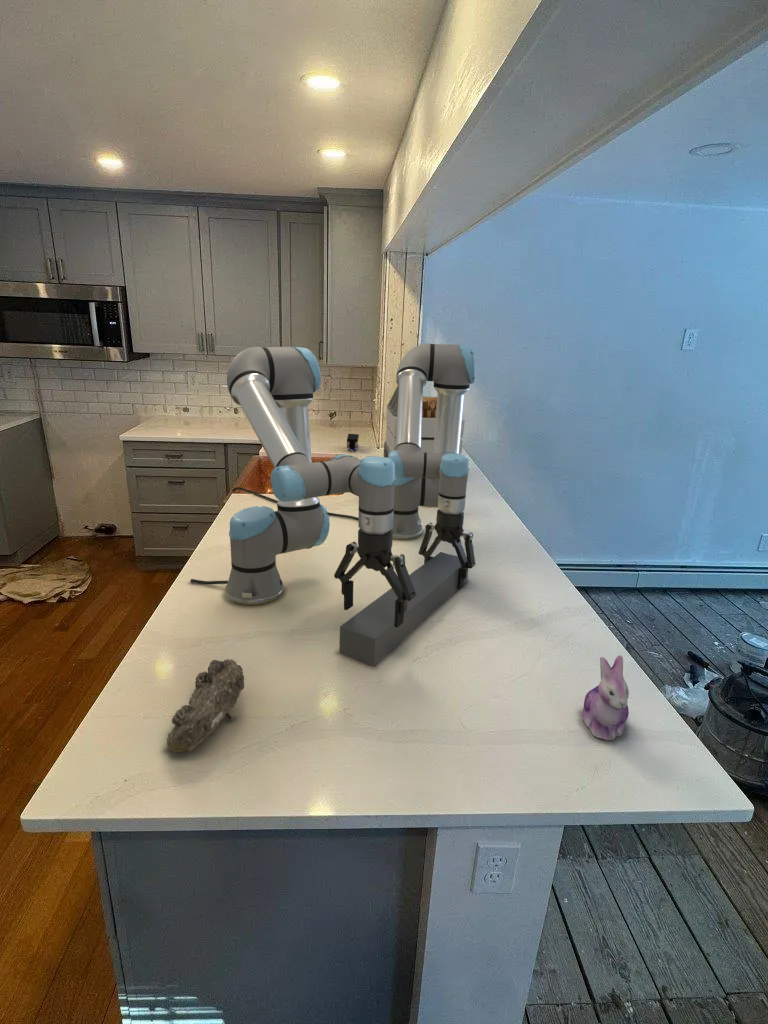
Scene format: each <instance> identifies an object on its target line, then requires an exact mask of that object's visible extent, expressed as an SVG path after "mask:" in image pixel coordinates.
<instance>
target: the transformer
mask: <svg viewBox="0 0 768 1024" xmlns="http://www.w3.org/2000/svg"><path fill="white" fill-rule="evenodd" d="M398 394H399V386H398V385H397V386H396V388H395V390H394V392H393V394H392V395H391V398H390V400H389V402H388V404H387V405H386V413H385V414H386V415H385V423H386V428H385V438H384V442H383V457H386V458H388V453H389V451H394V450H395V444H396V427H397V411H398ZM436 409H437V396H423V403H422V429H421V452H426V453H433V450H434V436H435V423H436ZM464 429H465V419H464V418H462V422H461V434H460V445H459V454H461V455H462V453H463V442H464V441H463V440H462V439H463V438H464V431H465V430H464Z"/></svg>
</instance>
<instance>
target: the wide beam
mask: <svg viewBox="0 0 768 1024" xmlns="http://www.w3.org/2000/svg"><path fill="white" fill-rule="evenodd" d="M432 557H433V558H432V559H430V560H429V561H428V562H426V563H425V564H424V563H423V564H422V565H420V566H419V567H418V568H417V569H415V570H413V572H411V573H410V574H409V576H410V579H411V581H412V584H413V587H414V589H415V592H416V597H414V598H413V599H412V600H411V601H408V604H407V611H406V612H405V613H404V618H403V623H402V624H401V625H400V626H399V627H398V628H397V627H394V622H395V600H397V599H398V597H397V596H396V594H395V592H394V591H393V589H392V587H390V589H388V590H387V591H386V592H384V593H383V594H382V595H380V596H379V597H378V598H376V599H375V600H373V601H372V602H371V603H369V604H368V605H367V606H366V607H364V608H363V609H361V610H360V611H359V612H357V613H356V614H355V615H353V616H352V617H350V619H348V620H346V621H345V622H343V624H341V625H340V626H339V652H338V653H339V654H342V655H344V656H346V657H349V658H351V659H354V660H356V661H358V662H361V663H363V664H365V665H369V666H371V667H376V665H377V664H378V663H380V662H381V661H382V660H383V659H384V658H385V657H386V656H387V655H388V654H389V653H391V652H392V651H393V650H394V649H395V648H396V647H397V646H398V645H399V644H401V642H403V641H404V640H405V639H406V638H407V637H408V636H409V635H410V634H411V633H413V632H414V631H415V630H416V628H418V627H419V626H421V624H423V622H425V621H426V620H427V619H428V618H429V617H430V616H431V615H432V614H433V613H434V612H435V611H437V609H438V608H440V607H441V606H442V605H443V604H444V603H445V602H446V601H447V600H449V599H450V597H452V596H453V595H454V594H455V593H456V592H457V591H459V590H458V589H457V585H458V575H459V568H460V567H461V564H460V561H459V558H458V556H457V555H454V554H449V553H446V552H442V551H440V552H438V553H437V554H435V555H434V556H432ZM468 577H469V575H468V576H467V578H465V579H464V585H465V584H466V583H467V582H468Z"/></svg>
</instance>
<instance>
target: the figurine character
mask: <svg viewBox="0 0 768 1024" xmlns="http://www.w3.org/2000/svg"><path fill="white" fill-rule="evenodd" d="M359 437H360V434H359V433H347V437H346V449H348V452H351V451H353V452H356V449H358V447H360V446H359Z"/></svg>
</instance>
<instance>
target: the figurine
mask: <svg viewBox="0 0 768 1024" xmlns="http://www.w3.org/2000/svg"><path fill="white" fill-rule="evenodd" d="M599 666H600V667H599V669H600V681H599V684H598V685H597V686H595V687H593V688H592V689H590V690H589V691H588V692H586V694H585V697H584V701H583V708H582V714H581V715H582V719H583V722H584V725H585V726H586V727H587V728H588V729H589V731H590V732H591V734H592V735H593V736H594V737H596V738H598V739H601V740H606V741H614V739H616V737H620V736H622V734H623V732H624V728H625V725H626V722H627V721H628V718H629V713H630V709H629V705H628V699H629V695H630V691H629V686H628V683H627V682H626V680H625V678H624V658H623V656H622V655H621V654H620V655H617V656H616V658H615V659H614V662H613V664H612V666H611V665H610V664H609V662H608V660H607V659H606V658H605V656H600V657H599Z"/></svg>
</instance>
